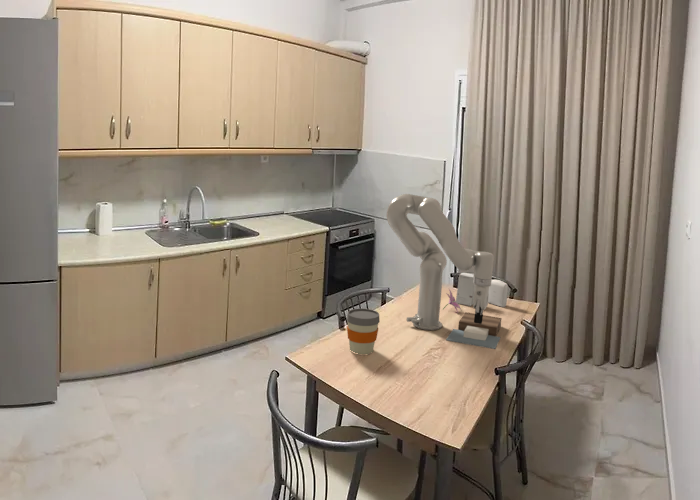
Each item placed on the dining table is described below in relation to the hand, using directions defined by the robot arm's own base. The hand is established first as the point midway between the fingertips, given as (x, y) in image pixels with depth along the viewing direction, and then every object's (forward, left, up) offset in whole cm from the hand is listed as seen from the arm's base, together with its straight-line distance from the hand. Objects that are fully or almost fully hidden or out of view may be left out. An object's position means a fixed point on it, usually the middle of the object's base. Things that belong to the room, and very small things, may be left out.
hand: (478, 322), depth 257 cm
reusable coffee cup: (-55, -8, -5) cm, 56 cm away
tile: (-3, -4, -4) cm, 6 cm away
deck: (+4, +5, -5) cm, 8 cm away
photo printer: (+31, +35, -5) cm, 46 cm away
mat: (-5, -6, -5) cm, 9 cm away
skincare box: (+16, +39, -5) cm, 42 cm away
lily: (+3, +30, -5) cm, 30 cm away
